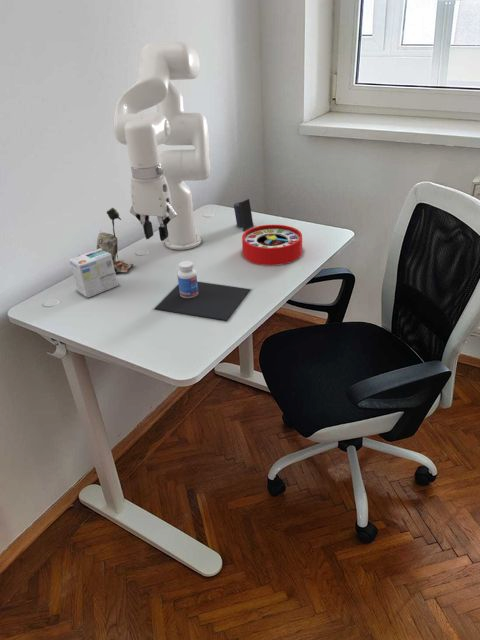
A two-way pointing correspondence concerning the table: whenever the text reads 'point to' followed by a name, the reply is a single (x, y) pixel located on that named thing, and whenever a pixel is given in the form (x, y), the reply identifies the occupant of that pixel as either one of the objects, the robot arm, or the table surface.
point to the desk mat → (206, 301)
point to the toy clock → (272, 244)
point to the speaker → (243, 214)
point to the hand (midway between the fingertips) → (156, 237)
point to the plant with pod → (112, 244)
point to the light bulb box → (93, 272)
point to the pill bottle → (187, 280)
